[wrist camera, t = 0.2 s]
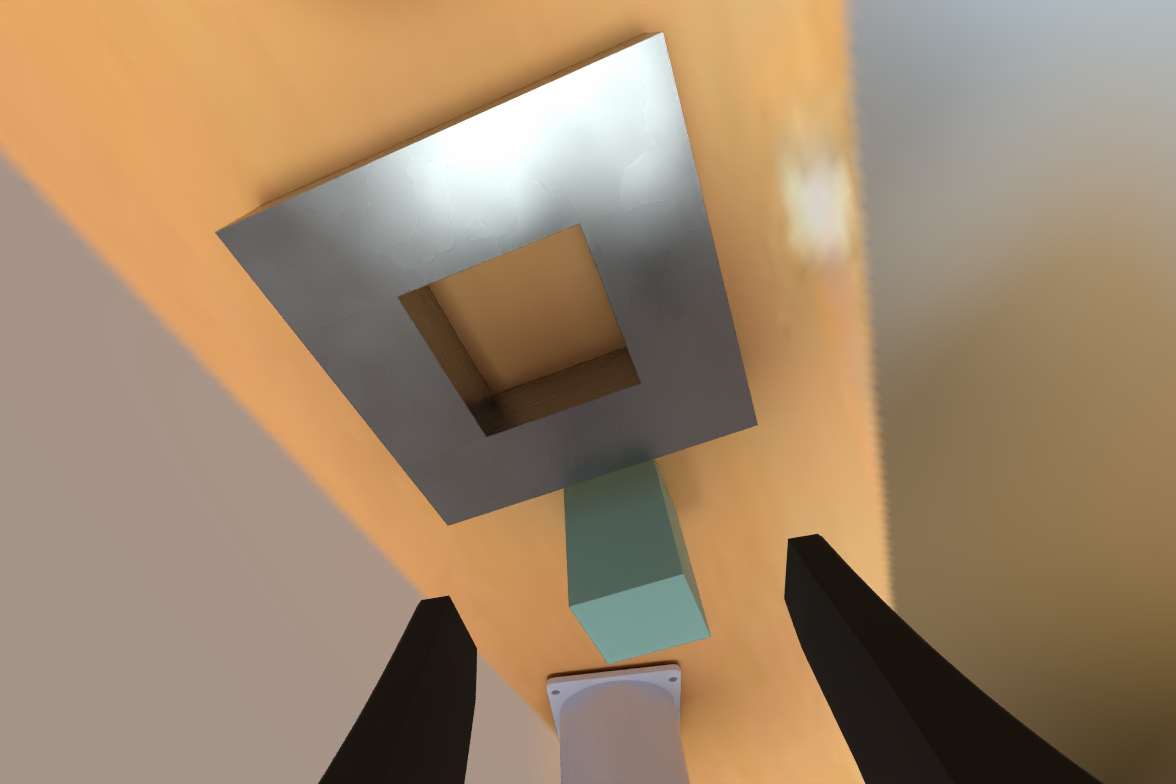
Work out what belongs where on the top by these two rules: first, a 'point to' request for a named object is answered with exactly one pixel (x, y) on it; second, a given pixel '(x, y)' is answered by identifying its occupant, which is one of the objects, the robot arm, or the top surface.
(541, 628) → the top surface
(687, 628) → the peg block
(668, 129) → the square hole plate
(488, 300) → the top surface
